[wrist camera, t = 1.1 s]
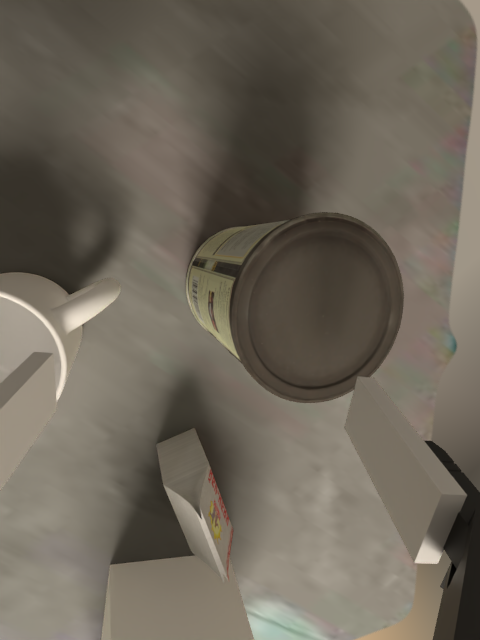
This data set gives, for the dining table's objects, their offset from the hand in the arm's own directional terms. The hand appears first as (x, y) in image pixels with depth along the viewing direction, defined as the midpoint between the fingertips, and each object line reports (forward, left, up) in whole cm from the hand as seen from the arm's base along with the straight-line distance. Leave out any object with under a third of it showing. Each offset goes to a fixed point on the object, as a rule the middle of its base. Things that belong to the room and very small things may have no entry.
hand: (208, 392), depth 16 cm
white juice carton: (+13, -5, -16) cm, 22 cm away
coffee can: (0, +7, -16) cm, 18 cm away
